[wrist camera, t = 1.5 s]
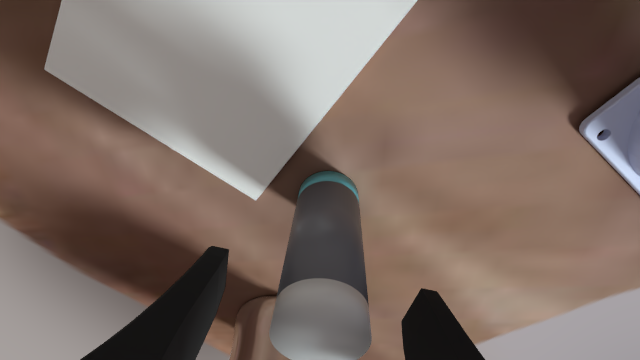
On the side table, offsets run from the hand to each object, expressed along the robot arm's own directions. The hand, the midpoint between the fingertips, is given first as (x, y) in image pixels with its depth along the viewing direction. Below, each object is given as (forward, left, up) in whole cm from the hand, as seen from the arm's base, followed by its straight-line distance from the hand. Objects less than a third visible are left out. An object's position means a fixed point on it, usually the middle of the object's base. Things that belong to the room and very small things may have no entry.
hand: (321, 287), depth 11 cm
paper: (+8, -4, -6) cm, 11 cm away
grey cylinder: (0, 0, -6) cm, 6 cm away
